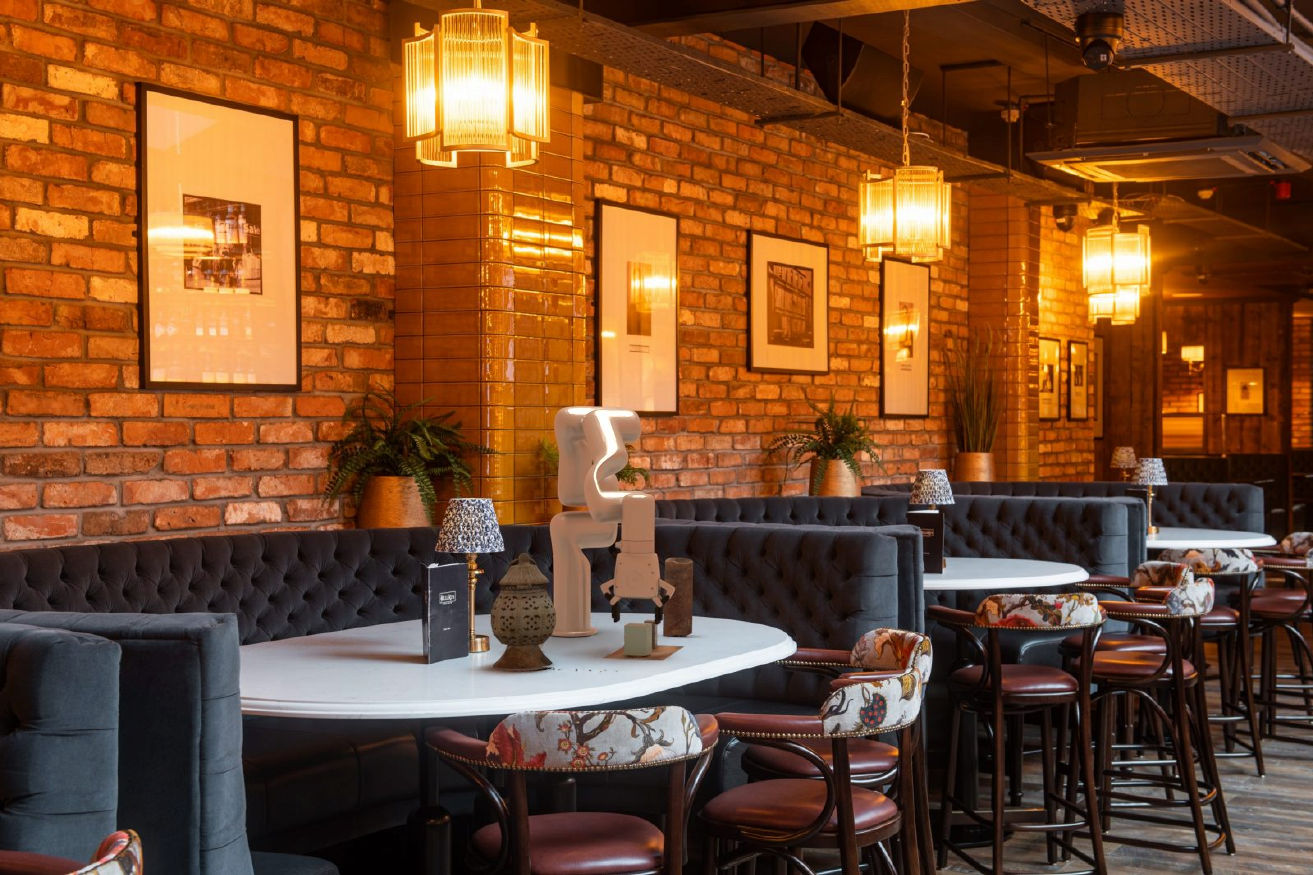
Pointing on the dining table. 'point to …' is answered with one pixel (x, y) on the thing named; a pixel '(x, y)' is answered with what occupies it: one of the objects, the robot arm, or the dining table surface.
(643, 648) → the olive block
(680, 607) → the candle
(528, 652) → the lantern
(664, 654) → the board
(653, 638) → the brown post
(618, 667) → the dining table surface
